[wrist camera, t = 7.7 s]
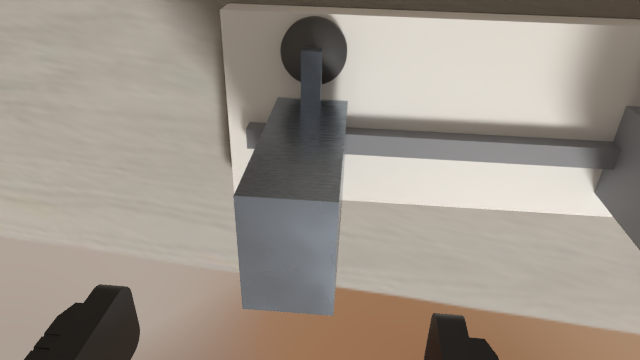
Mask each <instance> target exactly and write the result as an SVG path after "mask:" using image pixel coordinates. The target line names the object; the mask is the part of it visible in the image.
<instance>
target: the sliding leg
mask: <svg viewBox="0 0 640 360" xmlns="http://www.w3.org/2000/svg"><path fill="white" fill-rule="evenodd" d="M322 56H323V48H315V47H302V49H301V98H282V97H278V98H277V100H276V103H275V105H274V107H273V109H272V111H271V114H270V116H269V118H268V120H267V123H266V125H265V127H264V129H263V131H262V134H261V136H260V138H259V140H258V143H257V145H256V147H255V149H254V151H253V154H252V156H251V158H250V160H249V163H248V165H247V167H246V169H245V171H244V174H243V176H242V178H241V180H240V183H239V185H238V187H237V189H236V191H235V194H234V208H235V220H236V232H237V245H238V257H239V270H240V282H241V293H242V294H241V295H242V307H243V309H255V310H267V311H280V312H293V313H307V314H320V315H332V316H333V311H334V299H335V298H334V297H335V286H336V273H337V260H338V247H339V234H340V221H341V208H342V195H343V179H344V161H345V143H346V124H347V106H348V101H341V100H322V99H321V94H322Z"/></svg>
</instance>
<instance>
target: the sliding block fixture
mask: <svg viewBox="0 0 640 360" xmlns="http://www.w3.org/2000/svg"><path fill="white" fill-rule="evenodd" d="M220 20H221V32H222V45H223V57H224V70H225V83H226V95H227V108H228V121H229V133H230V146H231V158H232V171H233V184H234V193H235V191H236V189H237V187H238V185H239V183H240V180H241V178H242V176H243V174H244V171H245V169H246V167H247V165H248V163H249V160H250V158H251V156H252V154H253V151H254V149H255V147H256V145H257V143H258V140H259V138H260V136H261V134H262V131H263V129H264V127H265V125H266V123H267V120H268V118H269V116H270V114H271V111H272V109H273V107H274V105H275V103H276V100H277V98H278V97H282V98H301V49H302V47H315V48H323V56H322V94H321V99H322V100H341V101H348V106H347V124H346V143H345V161H344V179H343V195H342V200H351V201H367V202H382V203H398V204H414V205H430V206H446V207H462V208H477V209H493V210H509V211H525V212H541V213H557V214H573V215H588V216H604V217H614V218H615V220H616V221H617V222H618V223H619V225H620V226H621V227H622V228H623V230H624V231H625V232H626V233H627V235H628V236H629V237H630V238H631V240H632V241H633V242H634V243H635V245H636V246H637V247H638V248H639V250H640V19H616V18H590V17H565V16H540V15H514V14H489V13H463V12H438V11H413V10H387V9H362V8H337V7H311V6H286V5H261V4H235V3H228V4H227V5H225V6H224V7H223V8H221V9H220Z"/></svg>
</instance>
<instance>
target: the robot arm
mask: <svg viewBox="0 0 640 360" xmlns="http://www.w3.org/2000/svg"><path fill="white" fill-rule="evenodd" d="M139 335H140V327H139V322H138V318H137V314H136V310H135V306H134V301H133V297H132V293H131V290H130V288H128V287H124V286H112V285H98V286H96V287H95V288H94V289H93V291H92V292H91V294H90V295H89V296H88V298H87V299H86V300H85V302H84V303H75V304H73V305H72V306H71V307H69V308H68V309H67V310H65V311H64V312H63V313H61V314H60V315H59V316H57V318H56V319H55V320H54V322H53V323H52V324H51V325H50V327H49V328H48V329H47V330H46V332H45V333H44V337H41V338H40V340H39V341H38V342H37V343H36V345H35V346H34V350H33V351H30V353H29V354H28V355H27V356H26V358H25V359H24V360H131V358H132V356H133V354H134V352H135V350H136V348H137V345H138V341H139ZM424 360H499V359H498V356H497V355H496V354H495V352H494V351H493V350H492V348H491V347H490V346H489V344H488V343H487V342H486V340H485V339H479V338H469V336H468V331H467V327H466V322H465V319H464V317H463V316H462V315H450V314H449V315H448V314H437V313H433V315H432V318H431V324H430V329H429V334H428V339H427V345H426V350H425V356H424Z"/></svg>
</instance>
